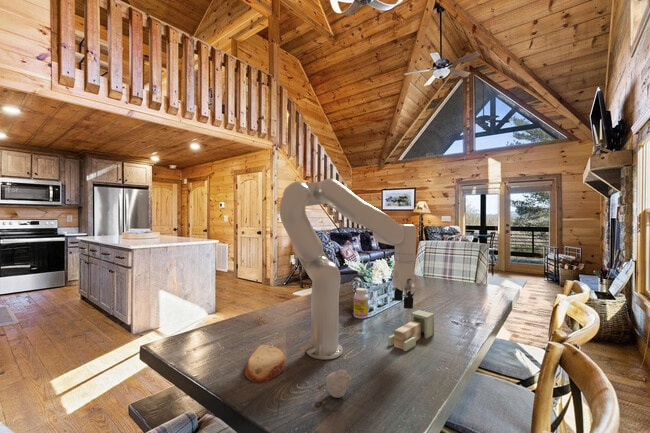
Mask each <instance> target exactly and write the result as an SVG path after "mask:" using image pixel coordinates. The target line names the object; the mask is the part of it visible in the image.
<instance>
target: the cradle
mask: <svg viewBox="0 0 650 433" xmlns="http://www.w3.org/2000/svg"><path fill="white" fill-rule="evenodd" d="M387 340H388V341H387V345H388V346H390V347H391V346H394V333H393V334H391V335H389V336H388V337H387ZM416 345H417V341H416V337H412V338H410V339H408V340H406V341H404V342H403V349H402V351H404V352H407V351H409V350H411V349H412V348H414V347H416Z"/></svg>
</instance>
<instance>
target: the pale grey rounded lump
mask: <svg viewBox="0 0 650 433" xmlns="http://www.w3.org/2000/svg"><path fill="white" fill-rule="evenodd" d="M348 373H349V372H348V370H347V369H337V371H332V372H331V373H329V374H328V375H327V376H325V385H326V389H327V390H328V393H329V395H330V396H331V397H333V398H337V399H339V398H342V397H344V395H346V393H347V389H348V387H350V385H351V383H352V376H351V375H350V374H348Z"/></svg>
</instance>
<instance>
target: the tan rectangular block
mask: <svg viewBox="0 0 650 433" xmlns="http://www.w3.org/2000/svg"><path fill="white" fill-rule="evenodd" d="M393 331H394V332H393V334H394V344H393V347H395V348H397V349H401V350H403V342H404V341H406V340H408V339H410V338H412V337H416V342H417V341H418V340H420V339H421V334H422V332H421V323H419V322H415V321H411V320H410V321H409V322H408V323H406V324H404V325H402V326H400V327H398V328H396V329H395V330H393Z"/></svg>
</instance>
